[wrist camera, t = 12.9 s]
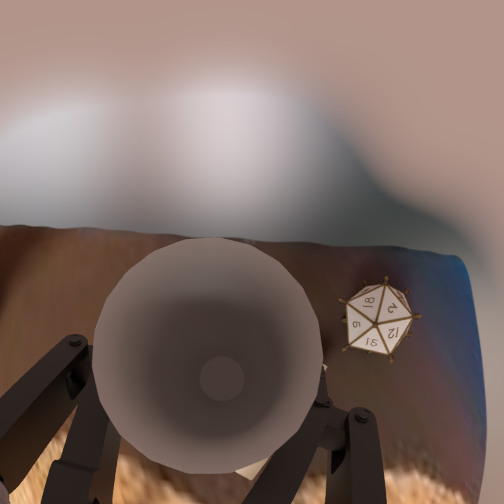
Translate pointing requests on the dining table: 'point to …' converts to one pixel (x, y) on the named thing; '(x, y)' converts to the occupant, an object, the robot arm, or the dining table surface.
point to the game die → (377, 318)
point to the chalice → (207, 356)
